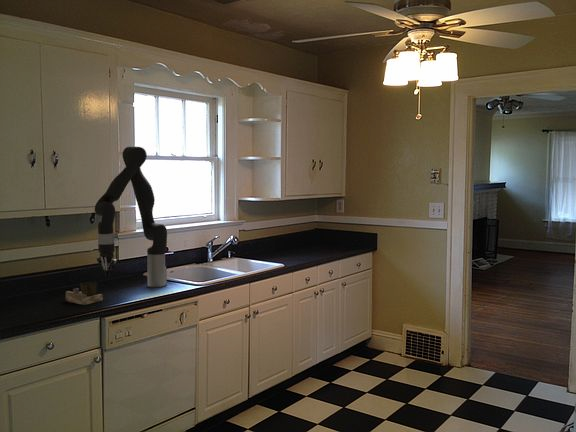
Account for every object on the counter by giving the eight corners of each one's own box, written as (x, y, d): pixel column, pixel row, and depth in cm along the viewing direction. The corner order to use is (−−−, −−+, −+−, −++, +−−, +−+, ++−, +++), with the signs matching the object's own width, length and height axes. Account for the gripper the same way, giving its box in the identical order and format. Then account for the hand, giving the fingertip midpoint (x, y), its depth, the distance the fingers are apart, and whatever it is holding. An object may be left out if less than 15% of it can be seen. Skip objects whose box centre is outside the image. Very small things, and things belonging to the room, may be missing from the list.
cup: (91, 297, 269) (90, 281, 268) (100, 299, 265) (100, 282, 264) (77, 300, 263) (77, 283, 262) (87, 302, 259) (86, 285, 258)
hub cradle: (84, 297, 270) (84, 283, 269) (102, 300, 263) (102, 286, 262) (65, 301, 260) (64, 287, 260) (83, 305, 253) (83, 290, 253)
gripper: (121, 242, 272) (123, 277, 274) (103, 240, 279) (104, 274, 281) (109, 244, 266) (110, 280, 267) (90, 242, 273) (92, 277, 274)
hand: (107, 277), depth 274 cm, fingers closed
